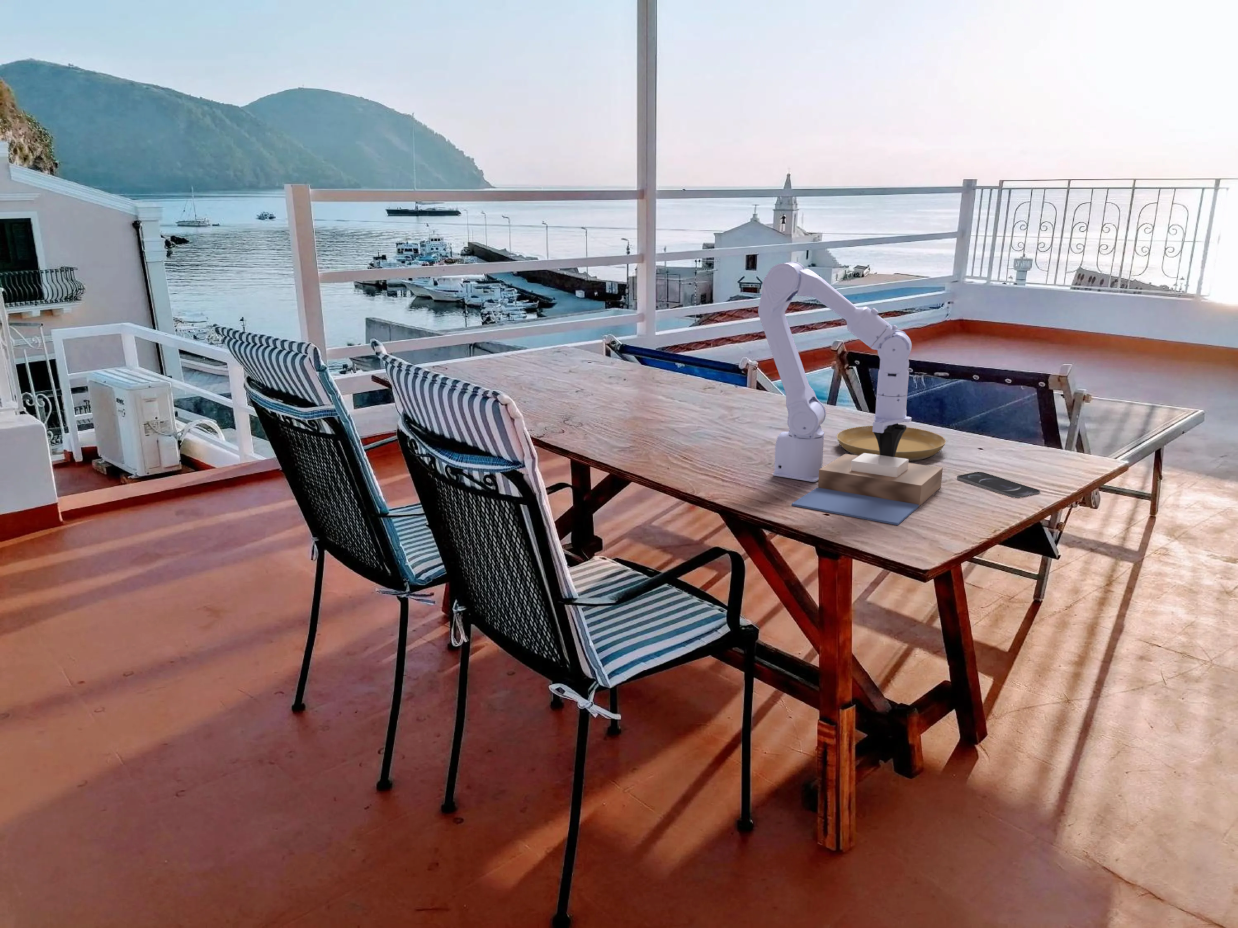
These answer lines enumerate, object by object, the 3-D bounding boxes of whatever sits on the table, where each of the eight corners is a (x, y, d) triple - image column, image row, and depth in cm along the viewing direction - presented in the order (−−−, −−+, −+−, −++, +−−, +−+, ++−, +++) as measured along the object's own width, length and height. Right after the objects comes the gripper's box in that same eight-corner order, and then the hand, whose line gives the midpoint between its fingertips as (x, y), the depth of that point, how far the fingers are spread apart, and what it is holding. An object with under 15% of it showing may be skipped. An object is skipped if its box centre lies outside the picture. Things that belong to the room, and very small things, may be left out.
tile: (850, 470, 165) (851, 460, 165) (863, 462, 171) (864, 452, 170) (896, 477, 160) (897, 467, 160) (908, 468, 166) (908, 459, 165)
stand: (818, 488, 167) (818, 469, 166) (844, 471, 178) (845, 453, 177) (919, 505, 156) (921, 485, 155) (940, 487, 167) (942, 467, 166)
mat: (791, 505, 158) (791, 503, 158) (817, 489, 167) (817, 487, 167) (897, 525, 146) (898, 523, 146) (918, 506, 156) (918, 504, 156)
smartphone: (1016, 496, 159) (954, 476, 172) (1016, 501, 160) (953, 480, 172) (1043, 491, 162) (980, 471, 175) (1042, 495, 163) (979, 475, 176)
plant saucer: (880, 470, 180) (882, 455, 179) (815, 445, 202) (816, 431, 201) (968, 457, 189) (969, 443, 188) (896, 434, 210) (897, 421, 209)
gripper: (900, 402, 157) (895, 472, 161) (923, 390, 169) (918, 455, 172) (863, 398, 161) (859, 466, 165) (888, 386, 172) (884, 450, 176)
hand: (887, 460), depth 169 cm, fingers closed
